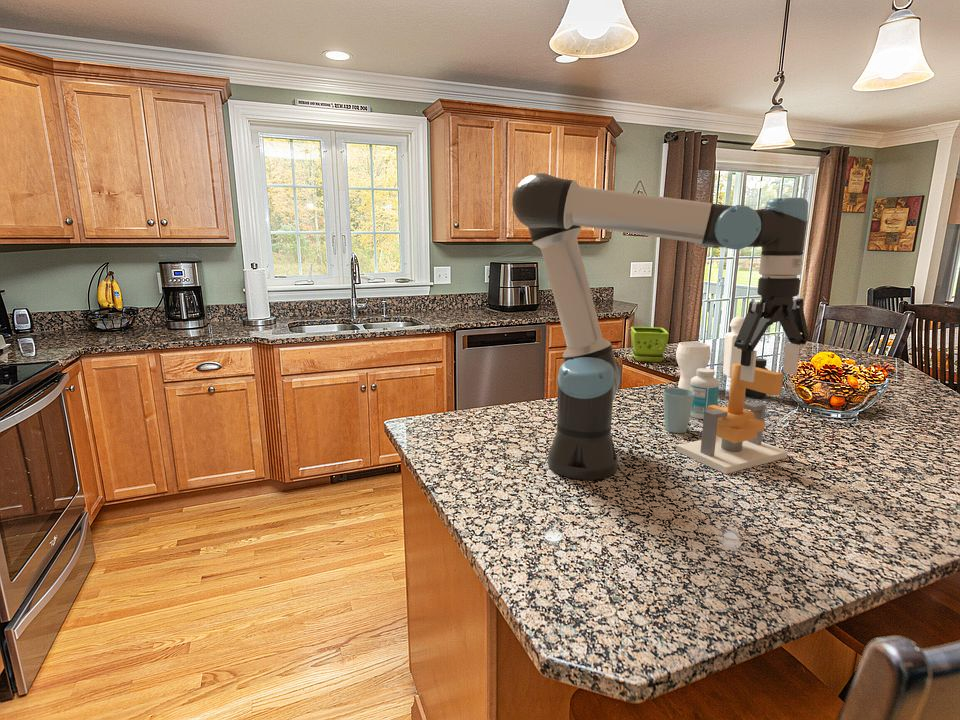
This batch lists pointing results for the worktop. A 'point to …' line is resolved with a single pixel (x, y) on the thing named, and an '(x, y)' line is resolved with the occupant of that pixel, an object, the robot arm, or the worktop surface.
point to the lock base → (733, 457)
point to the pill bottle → (703, 391)
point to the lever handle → (738, 419)
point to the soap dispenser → (732, 346)
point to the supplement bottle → (752, 393)
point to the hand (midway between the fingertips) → (768, 376)
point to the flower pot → (649, 343)
